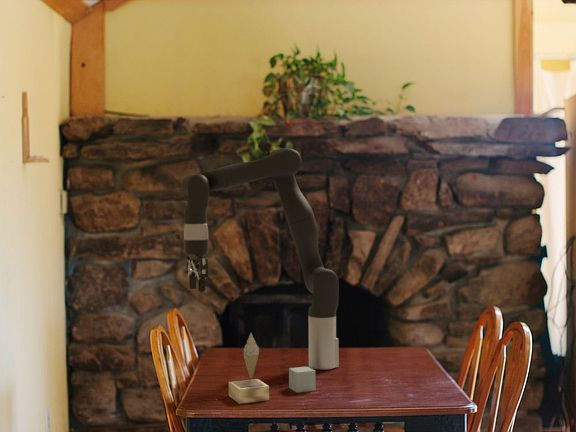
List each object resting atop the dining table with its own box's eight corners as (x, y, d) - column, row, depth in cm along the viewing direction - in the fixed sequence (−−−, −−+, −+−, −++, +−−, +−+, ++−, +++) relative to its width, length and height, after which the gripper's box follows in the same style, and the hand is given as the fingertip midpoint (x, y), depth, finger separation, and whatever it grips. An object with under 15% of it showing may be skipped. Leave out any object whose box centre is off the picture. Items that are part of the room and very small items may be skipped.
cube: (307, 386, 234) (307, 366, 234) (315, 390, 228) (315, 370, 228) (289, 388, 232) (288, 368, 232) (296, 392, 226) (296, 372, 226)
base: (258, 392, 226) (257, 378, 226) (269, 400, 218) (269, 385, 218) (228, 395, 223) (228, 381, 223) (239, 403, 214) (238, 388, 214)
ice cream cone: (261, 378, 243) (261, 331, 243) (255, 382, 239) (255, 334, 238) (246, 377, 245) (246, 330, 245) (240, 381, 240) (240, 333, 240)
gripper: (215, 238, 235) (216, 291, 236) (200, 236, 248) (201, 286, 249) (191, 239, 232) (193, 293, 232) (177, 237, 245) (178, 288, 245)
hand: (197, 290), depth 240 cm, fingers open, 8 cm apart
